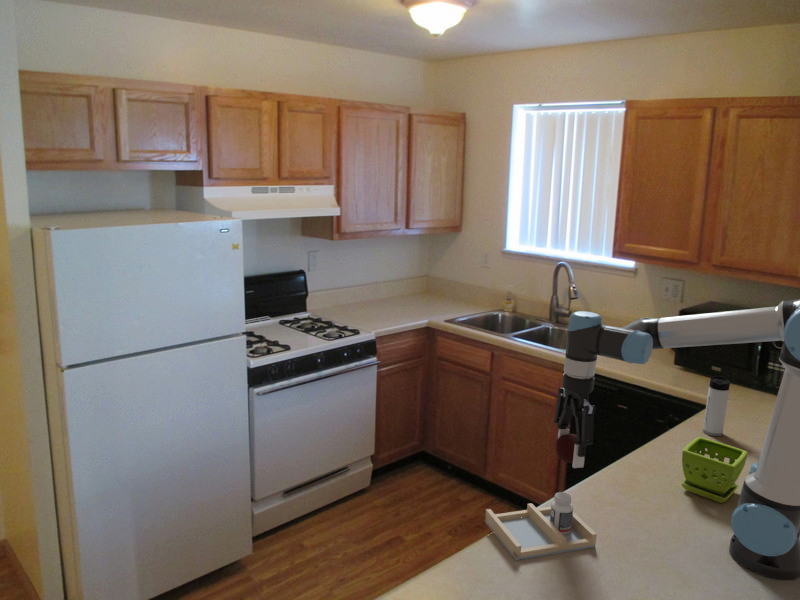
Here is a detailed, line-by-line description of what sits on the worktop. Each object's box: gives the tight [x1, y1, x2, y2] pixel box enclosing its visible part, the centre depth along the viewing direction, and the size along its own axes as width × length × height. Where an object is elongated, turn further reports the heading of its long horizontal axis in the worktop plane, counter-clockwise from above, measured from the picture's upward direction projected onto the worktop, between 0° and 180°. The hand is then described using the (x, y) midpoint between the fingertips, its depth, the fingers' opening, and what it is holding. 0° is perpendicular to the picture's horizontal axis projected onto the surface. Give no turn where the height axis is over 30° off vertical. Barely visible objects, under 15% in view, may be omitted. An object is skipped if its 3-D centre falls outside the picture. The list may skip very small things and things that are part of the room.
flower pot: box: [681, 436, 749, 504], centre depth 177 cm, size 14×14×13 cm
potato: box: [555, 433, 577, 464], centre depth 159 cm, size 7×8×7 cm
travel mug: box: [702, 375, 731, 437], centre depth 219 cm, size 6×7×20 cm
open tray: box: [484, 503, 598, 561], centre depth 154 cm, size 16×21×4 cm
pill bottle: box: [550, 491, 574, 534], centre depth 155 cm, size 5×5×9 cm
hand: (569, 459), depth 160 cm, fingers closed on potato, 7 cm apart
